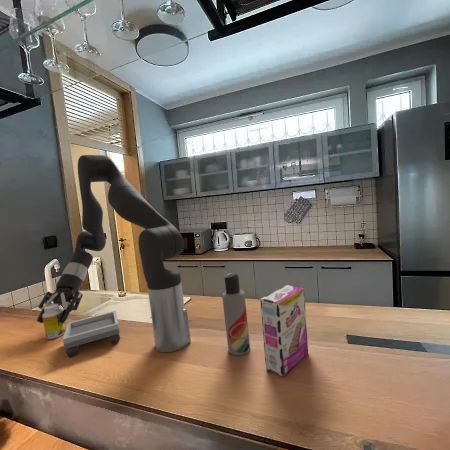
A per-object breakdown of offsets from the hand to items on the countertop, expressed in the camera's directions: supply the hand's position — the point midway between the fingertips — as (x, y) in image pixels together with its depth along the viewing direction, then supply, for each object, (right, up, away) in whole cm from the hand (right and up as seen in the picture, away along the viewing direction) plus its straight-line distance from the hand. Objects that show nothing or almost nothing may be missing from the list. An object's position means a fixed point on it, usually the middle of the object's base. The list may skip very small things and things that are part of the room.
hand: (50, 322), depth 85 cm
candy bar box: (+72, 0, -25) cm, 76 cm away
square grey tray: (+18, -4, -6) cm, 19 cm away
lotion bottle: (+61, 0, -18) cm, 64 cm away
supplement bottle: (+1, -5, +2) cm, 6 cm away
